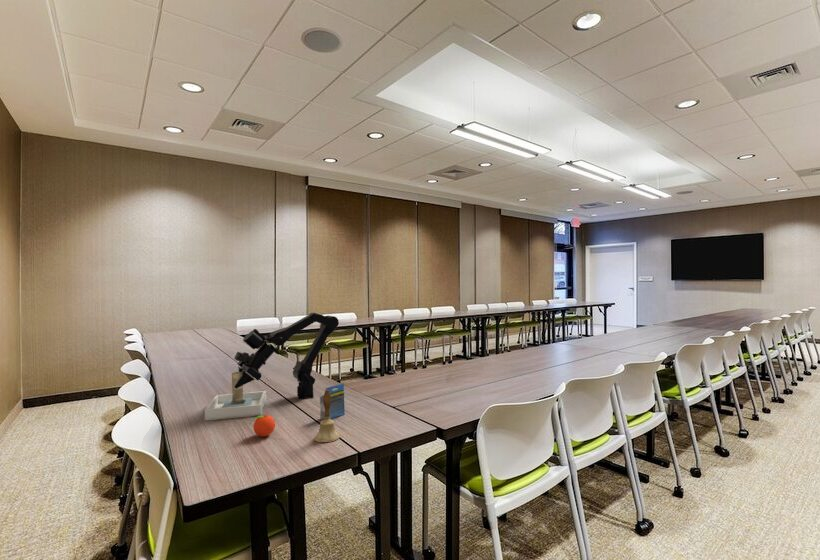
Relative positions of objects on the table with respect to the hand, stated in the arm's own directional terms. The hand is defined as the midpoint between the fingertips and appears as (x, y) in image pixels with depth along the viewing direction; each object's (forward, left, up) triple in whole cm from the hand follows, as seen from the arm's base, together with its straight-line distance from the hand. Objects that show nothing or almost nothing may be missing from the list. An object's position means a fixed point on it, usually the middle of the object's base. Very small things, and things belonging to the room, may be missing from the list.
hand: (233, 386), depth 160 cm
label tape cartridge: (-38, +20, -10) cm, 44 cm away
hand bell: (-35, +40, -10) cm, 54 cm away
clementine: (-14, +32, -10) cm, 36 cm away
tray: (-1, 0, -10) cm, 10 cm away
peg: (-1, 0, -7) cm, 7 cm away
